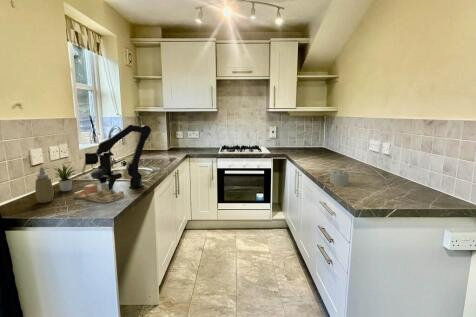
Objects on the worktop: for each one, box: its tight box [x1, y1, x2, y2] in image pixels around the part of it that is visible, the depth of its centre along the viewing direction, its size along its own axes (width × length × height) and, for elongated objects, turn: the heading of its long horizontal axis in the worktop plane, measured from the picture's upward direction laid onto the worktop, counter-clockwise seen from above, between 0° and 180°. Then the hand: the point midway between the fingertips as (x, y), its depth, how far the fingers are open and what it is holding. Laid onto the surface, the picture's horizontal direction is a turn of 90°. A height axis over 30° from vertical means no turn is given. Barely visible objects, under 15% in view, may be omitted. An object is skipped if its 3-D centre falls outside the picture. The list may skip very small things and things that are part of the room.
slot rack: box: [74, 189, 124, 204], centre depth 152 cm, size 12×23×3 cm, turn 67°
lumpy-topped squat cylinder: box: [329, 169, 350, 187], centre depth 180 cm, size 10×13×9 cm
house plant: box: [52, 163, 78, 192], centre depth 164 cm, size 14×14×16 cm
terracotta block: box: [83, 183, 98, 195], centre depth 154 cm, size 4×4×5 cm
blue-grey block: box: [100, 181, 114, 192], centre depth 164 cm, size 4×4×5 cm
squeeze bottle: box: [35, 167, 55, 204], centre depth 143 cm, size 8×8×18 cm
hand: (107, 189), depth 164 cm, fingers open, 5 cm apart
